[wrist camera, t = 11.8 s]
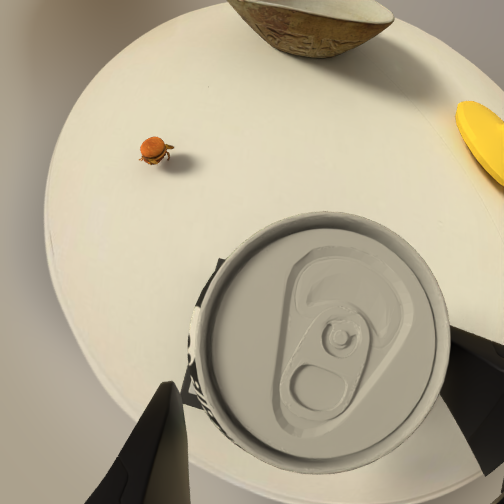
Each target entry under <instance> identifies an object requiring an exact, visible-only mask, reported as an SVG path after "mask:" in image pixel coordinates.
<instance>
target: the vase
mask: <svg viewBox="0 0 504 504" xmlns="http://www.w3.org/2000/svg"><path fill="white" fill-rule="evenodd" d="M455 118H456V123H457V126H458V129H459V131H460V134H461V136H462V137H463V139H464V141H465V142H466V144H467V146H468V148H469V149H470V151H471V152H472V153H473V155H474V156H475V158H476V159H477V161H478V162H479V163H480V164H481V165H482V166H483V168H484V169H485V170H486V171H487V172H488V173H489V174H490V175H491V176H492V177H493V178H494V179H495V180H496V181H497V182H498V183H500V184H501V185H502V186H504V121H502V120H501V119H500V118H499V117H498V116H497V115H496V114H495V113H493V112H492V111H491V110H490V109H488V108H487V107H485V106H483V105H481V104H479V103H477V102H474V101H463V102H461V103H459V104H458V107H457V111H456V116H455Z"/></svg>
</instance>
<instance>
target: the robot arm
mask: <svg viewBox="0 0 504 504" xmlns="http://www.w3.org/2000/svg"><path fill="white" fill-rule="evenodd" d="M440 395H441V397H442V398H443V400H444V402H445V403H446V405H447V407H448V408H449V410H450V412H451V413H452V415H453V417H454V419H455V420H456V422H457V424H458V426H459V427H460V429H461V431H462V433H463V435H464V436H465V438H466V440H467V442H468V444H469V446H470V448H471V450H472V452H473V454H474V456H475V458H476V460H477V461H478V463H479V466H480V468H481V470H482V472H483V474H484V475H485V476H487V475H488V474H490V473H491V472H492V471H493V470H495V469H496V468H497V467H498V466H500V465H501V464H502V463H503V462H504V345H501V344H499V343H496V342H493V341H492V342H491V340H488V339H485V338H483V337H480V336H477V335H475V334H472V333H469V332H467V331H464V330H461V329H459V328H456V327H453V326H451V325H450V355H449V363H448V367H447V371H446V375H445V379H444V382H443V385H442V388H441V390H440ZM501 493H502V494H501V495H500V496H499V497H498V498H496V499H495V500H494V501H493V502H492V503H491V504H504V480H503V484H502V490H501ZM84 504H190V488H189V469H188V441H187V431H186V425H185V418H184V410H183V403H182V397H181V395H180V393H179V391H178V389H177V387H176V385H175V383H174V382H173V381H168V382H162V383H161V384H160V386H159V387H158V389H157V391H156V392H155V394H154V396H153V397H152V399H151V401H150V402H149V404H148V406H147V407H146V409H145V411H144V412H143V414H142V416H141V417H140V419H139V421H138V423H137V424H136V426H135V428H134V429H133V431H132V433H131V434H130V436H129V438H128V439H127V441H126V443H125V445H124V446H123V448H122V450H121V451H120V453H119V455H118V457H117V458H116V460H115V461H114V463H113V465H112V466H111V468H110V469H109V471H108V473H107V474H106V476H105V477H104V479H103V480H102V481H101V483H100V484H99V486H98V487H97V488H96V489H95V491H94V492H93V493H92V494H91V496H90V497H89V498H88V499H87V501H86V502H85V503H84Z"/></svg>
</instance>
